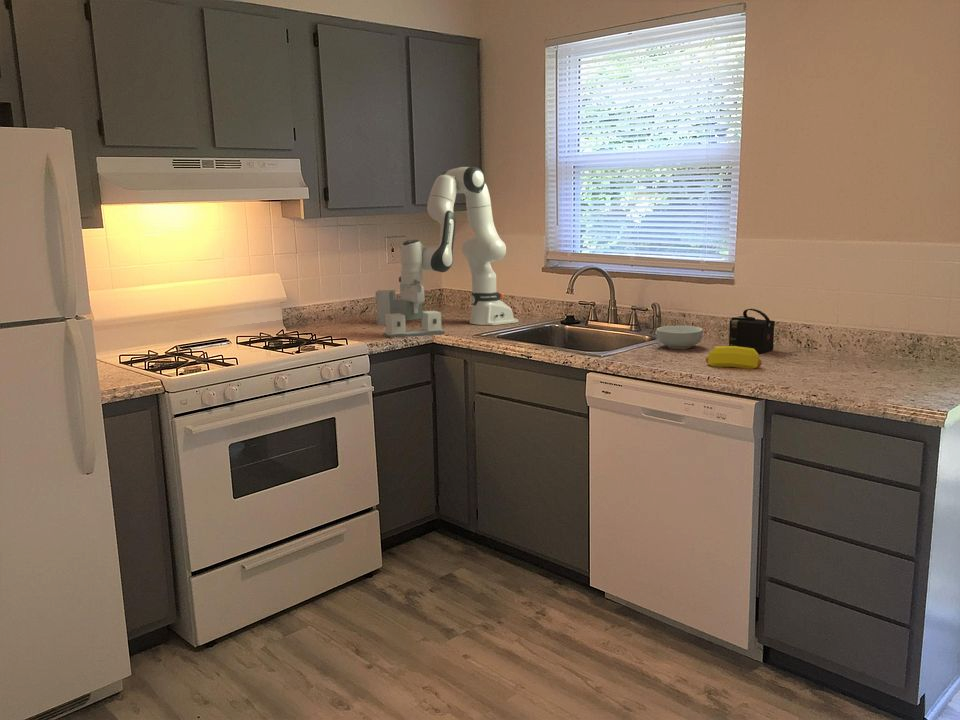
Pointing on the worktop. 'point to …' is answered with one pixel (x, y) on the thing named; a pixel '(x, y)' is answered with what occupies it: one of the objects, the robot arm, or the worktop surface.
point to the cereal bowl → (679, 336)
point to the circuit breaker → (387, 304)
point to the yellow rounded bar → (733, 357)
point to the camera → (752, 332)
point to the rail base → (398, 329)
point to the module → (409, 313)
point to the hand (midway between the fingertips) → (412, 312)
